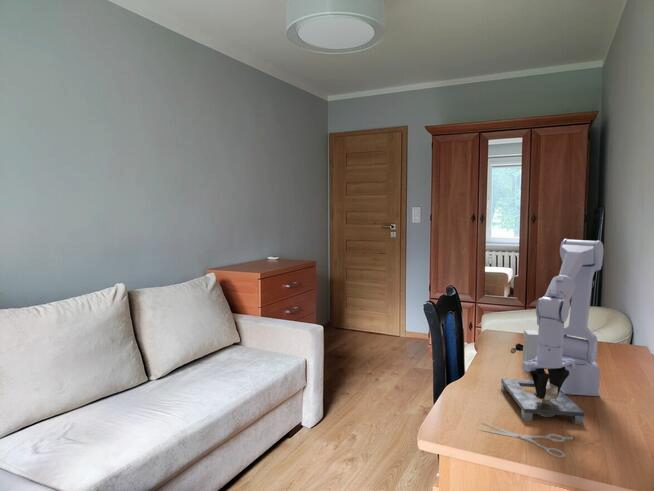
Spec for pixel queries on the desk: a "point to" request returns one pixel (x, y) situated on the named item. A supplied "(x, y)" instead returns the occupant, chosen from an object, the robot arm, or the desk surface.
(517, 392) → the keyhole plate
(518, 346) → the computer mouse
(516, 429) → the desk surface
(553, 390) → the key peg
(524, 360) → the skincare box
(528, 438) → the scissors
